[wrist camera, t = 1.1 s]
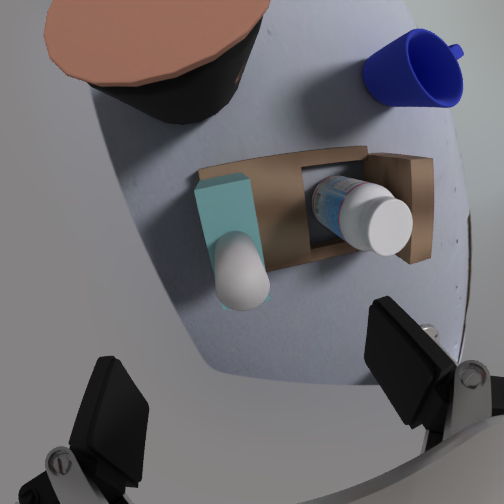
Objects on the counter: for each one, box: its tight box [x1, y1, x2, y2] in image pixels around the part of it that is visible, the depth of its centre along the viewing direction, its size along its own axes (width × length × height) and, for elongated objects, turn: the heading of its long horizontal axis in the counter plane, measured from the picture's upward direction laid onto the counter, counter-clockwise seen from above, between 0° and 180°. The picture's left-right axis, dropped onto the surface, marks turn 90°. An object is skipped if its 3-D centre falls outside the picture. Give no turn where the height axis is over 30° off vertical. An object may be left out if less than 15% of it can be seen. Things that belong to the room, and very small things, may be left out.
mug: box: [363, 29, 464, 108], centre depth 20 cm, size 8×12×10 cm
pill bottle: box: [312, 176, 413, 256], centre depth 24 cm, size 6×6×11 cm
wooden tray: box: [198, 146, 434, 272], centre depth 25 cm, size 12×21×9 cm, turn 100°
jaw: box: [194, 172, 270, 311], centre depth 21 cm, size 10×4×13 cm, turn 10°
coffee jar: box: [44, 0, 270, 125], centre depth 14 cm, size 11×11×18 cm
